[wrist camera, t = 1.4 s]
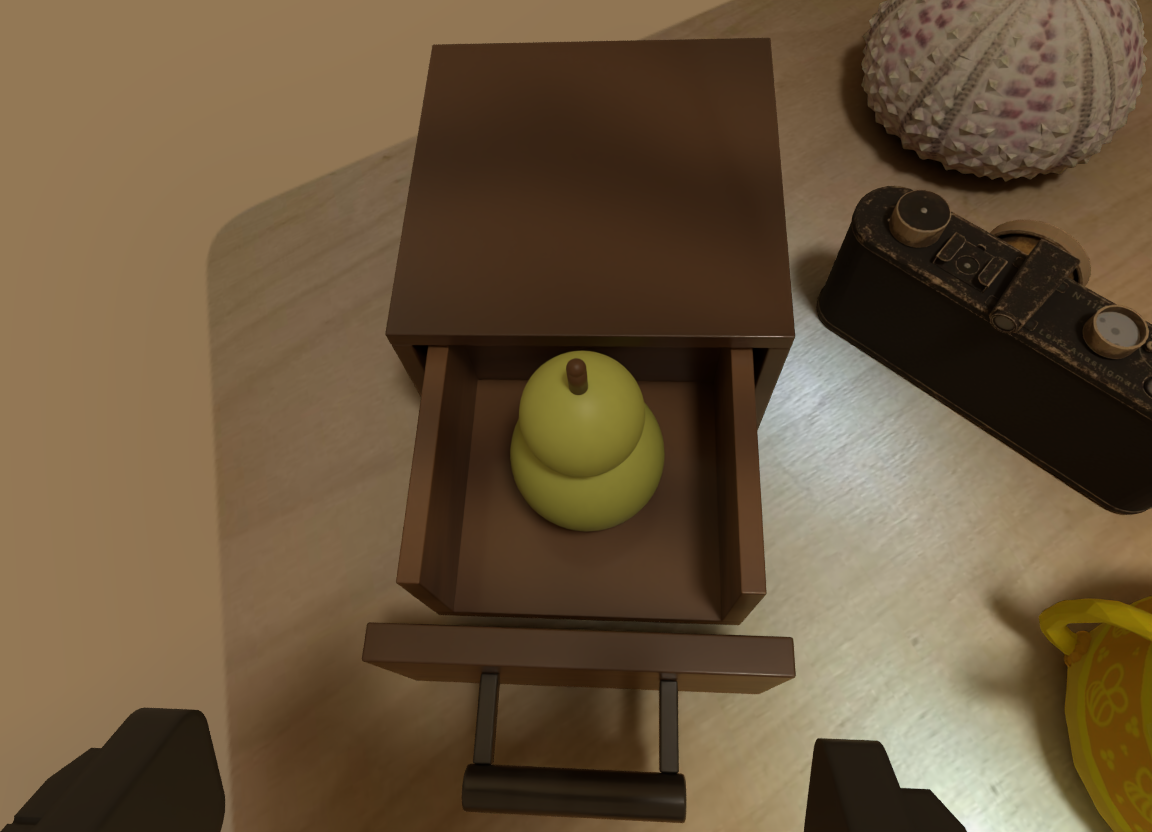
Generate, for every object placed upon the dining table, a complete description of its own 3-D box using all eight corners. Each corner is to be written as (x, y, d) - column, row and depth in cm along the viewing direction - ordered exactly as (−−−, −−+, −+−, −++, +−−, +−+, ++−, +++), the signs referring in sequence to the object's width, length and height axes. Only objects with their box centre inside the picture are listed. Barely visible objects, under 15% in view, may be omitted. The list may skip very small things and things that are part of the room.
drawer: (766, 818, 28) (807, 836, 21) (400, 799, 29) (338, 811, 22) (744, 377, 35) (770, 295, 28) (452, 374, 36) (415, 294, 29)
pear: (516, 548, 31) (466, 455, 21) (526, 417, 33) (485, 279, 24) (661, 552, 31) (677, 458, 21) (660, 419, 33) (675, 279, 23)
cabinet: (757, 432, 35) (795, 337, 27) (438, 427, 36) (384, 334, 28) (742, 176, 40) (770, 37, 33) (468, 178, 41) (432, 43, 34)
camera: (1203, 425, 33) (1364, 332, 26) (1132, 538, 32) (1283, 473, 24) (874, 230, 39) (932, 107, 31) (797, 319, 37) (839, 211, 29)
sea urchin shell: (825, 32, 44) (865, -111, 37) (1062, 7, 44) (1149, -143, 37) (881, 217, 39) (940, 92, 32) (1151, 190, 39) (1275, 57, 31)
